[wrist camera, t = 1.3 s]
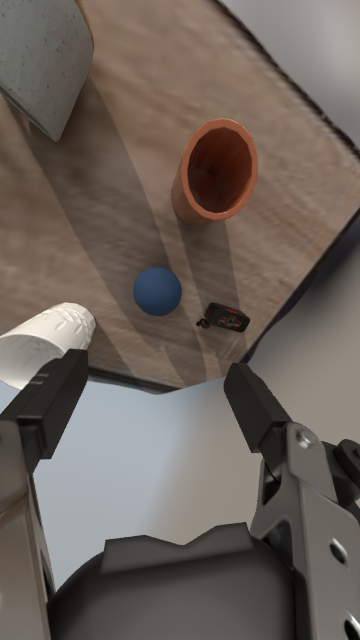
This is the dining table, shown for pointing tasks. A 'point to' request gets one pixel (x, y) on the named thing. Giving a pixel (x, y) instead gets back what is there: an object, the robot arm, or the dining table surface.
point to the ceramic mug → (44, 59)
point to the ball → (157, 291)
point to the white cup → (43, 341)
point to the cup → (215, 173)
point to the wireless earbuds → (225, 318)
